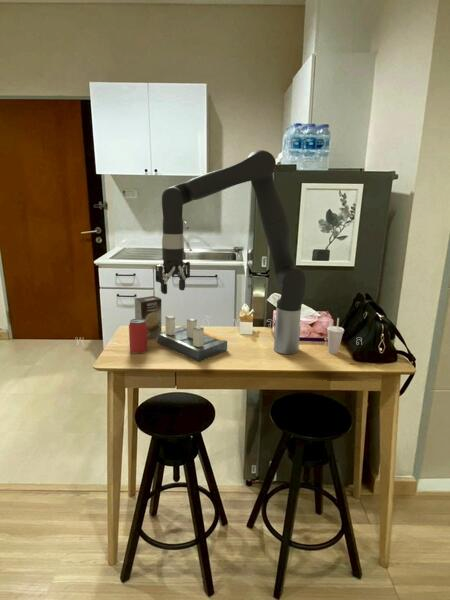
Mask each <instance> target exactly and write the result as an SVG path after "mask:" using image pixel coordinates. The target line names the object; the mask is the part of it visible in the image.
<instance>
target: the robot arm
mask: <svg viewBox="0 0 450 600" xmlns="http://www.w3.org/2000/svg"><path fill="white" fill-rule="evenodd" d="M276 163H277V162H276V159H275V156H274V155H273V154H272V153H271V152H269V151H268V150H263V149H261V150H260V149H259V150H258V149H257V150H255V151H252V152H250V153H249V155H248V156H247V157H246V159H243V160H242V161H240V162H238V163H236V164H234V165H231V166H228V167H225V168H221V169H218V170H217V169H216V170H214V171H210V172H207V173H204V174H202V175H199V176H197V177H193V178H191V179H189V180H187V181H186V182H185V181H184V182H182V183H179V184H175V185H173V186H170V187H167V188H166V189H164V191H163V192H162V194H161V208H162V210H161V211H162V239H161V246H162V247H161V252H162V254H161V257H162V260H163V261H162V264H159V265H158V264H156V265H155V267H154V268H155V282H157V283H160V292H161V293H162V294H164V295H168V282H169V279H171V278H172V276H177V277H178V279H179V280H178V286H179V287H178V289H179V290H180V291H185V288H186V280H187V279H189V278H190V277H191V262H190V261H188V260H185V238H184V220H183V207H184V206H183V205H185V204H188V203H191V202H193V201H197V200H200V199H205V198H207V197H209V196H211V195H214V194H217V193H219V192H221V191H224V190H226V189H229V188H231V187H234V186H237V185H240V184H243V183H249V182H251V185H252V188H253V190H254V191H253V192H254V193H255V197H256V202H257V203H256V204H257V208H258V212H259V217H260V221H261V225H262V226H261V227H262V229H263V233H264V236H265V238H266V242H267V245H268V248H269V252H270V255H271V259H272V265H273V270H274V275H275V276H274V277H275V280H276V283H277V284H278V286H279V287H281V295H280V298H278V299H277V301H276V309H275V310H276V311H275V312H276V313H275V323H274V324H275V327H274V337H273V338H274V342H273V350H274V351H275V352H276V353H279V354H283V355H294V354H296V353H297V352H298V349H299V347H300V337H301V326H300V325H301V314H302V305H303V303H304V300H305V295H306V287H307V276H306V273H305V272H304V270H302V269H301V268H299V267H298V266H297V267H296V265H295V263H294V260H293V256H292V253H291V247H290V245H291V227H290V221H289V218H288V215H287V211H286V208H285V206H284V203H283V201H282V200H281V197H280V196H279V193H278V191H277V188H276V186H275V181H274V176H273V174H274V172H275V169H276V166H277V164H276Z"/></svg>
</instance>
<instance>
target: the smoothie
mask: <svg viewBox="0 0 450 600" xmlns="http://www.w3.org/2000/svg"><path fill="white" fill-rule="evenodd" d="M339 322H340V318H339V317H337V320H336V326H335V325H331V326H327V328H326V331H327V349H328V350H327V353H329V354H332V355H337V354H338V353H339V350H340V346H341V342H342V338H343V334H344V333H345V329H344V328H343V327H342V326H339Z"/></svg>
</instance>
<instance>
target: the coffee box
mask: <svg viewBox="0 0 450 600" xmlns="http://www.w3.org/2000/svg"><path fill="white" fill-rule="evenodd" d="M136 318H141V319H144V320H145V322H146V324H147V340H148V339H151V338H157V334H158V333H161V332H163V330H162V298H160V297H158V296H155V295H151V296H144V297H136V298H134V319H136Z"/></svg>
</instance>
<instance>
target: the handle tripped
mask: <svg viewBox="0 0 450 600" xmlns="http://www.w3.org/2000/svg"><path fill="white" fill-rule="evenodd" d="M197 322H198V320H197V319H195V318H192V317H190V318H187V319H186V325H187V337H190V338H193V327H195V326H198V325H197V324H198V323H197Z"/></svg>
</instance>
